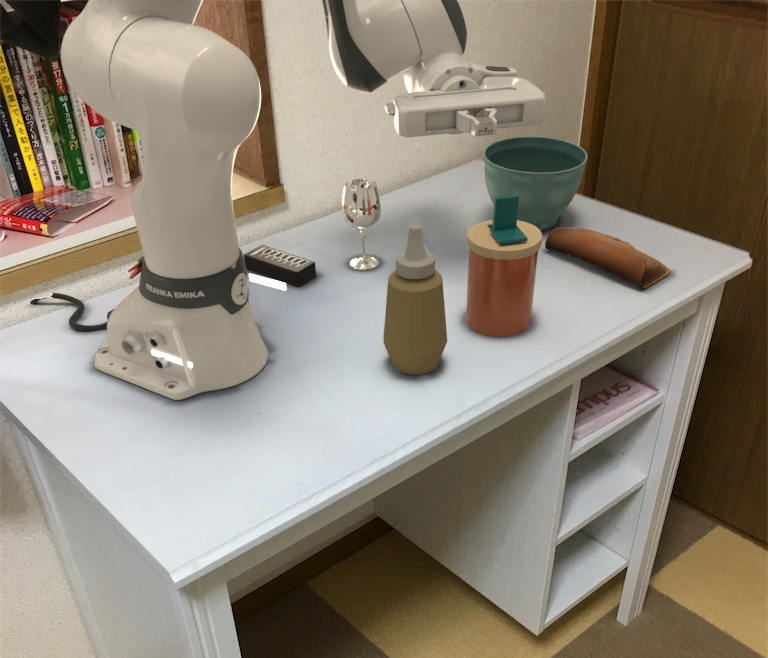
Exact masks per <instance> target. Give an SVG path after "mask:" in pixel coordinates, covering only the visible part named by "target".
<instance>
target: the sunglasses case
mask: <svg viewBox="0 0 768 658" xmlns="http://www.w3.org/2000/svg"><path fill="white" fill-rule="evenodd" d="M544 247H545V249H546V250H548V251H553V252H555V253H559V254H562V255H564V256H569V257H571V258H576V259H580V260H581V261H584V262H586V263H588V264H590V265H593V266H595V267H598V268H602V269H604V270H605V271H607V272H609V273H612V274H615V275H618V276H620V277H622V278H624V279H627V280H629V281H632V282H633V283H635V284H638V285H640V286H641V287H642V288H643V289H645V290H646V289H647V288H650V287H652V286H654V285H656V284H657V283H658V282H660V281H662V280H663V279H665V278H666V277H668V276H669V275H670V273H671V270H670V269H669V268H668V267H667V266H666V265H665V264H664V263H662V262H661V261H659V260H658V259H656V258H655V257H653V256H651V255H649V254H647V253H645V252H642V251H641V250H639V249H636V248H635V247H634V246H633V245H632V244H631V243H630V242H628V241H625V240H622V239H620V238H619V237H615V236H612V235H610V234H607V233H606V234H604V233H603V232H599V231H595V230H593V229H588V228H581V227H572V226H571V227H566V226H565V227H555V228H554V229H552V230H551V231H550V232H549V233H548V235H547V236H546V239H545V243H544Z"/></svg>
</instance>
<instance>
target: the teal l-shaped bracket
mask: <svg viewBox="0 0 768 658" xmlns="http://www.w3.org/2000/svg"><path fill="white" fill-rule="evenodd" d="M518 203H519V196H518V195H517V194H513V195H505V196H497V197H494V204H493V211H492V212H493V213H492V220H493V223H492V228H490V232H491V234H492V235H493V236H494V237H495V239H496V240H497V241H498V243H499V244H507V243H515V242H523V241H527V239H528V238H527V237H526V236H525V234H524V233H523V232H522V231H521V230H520V228H519V227H518V226H517V215H518Z"/></svg>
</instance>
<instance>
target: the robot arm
mask: <svg viewBox="0 0 768 658" xmlns="http://www.w3.org/2000/svg"><path fill="white" fill-rule="evenodd" d="M321 2H322V7H323V11H324V17H325V23H326V24H325V25H326V33H327V40H328V50H329V51H328V52H329V56H330V60H331V64H332V66H333V69H334V71H335V73H336V75H337V76H338V78H339V80H340V81H341V82H342V83H343V85H344V86H345V87H346V88H347V89H349V90H352V91H356V92H359V93H363V94H372V93H374V92H375V91H376V90H377V89H379V88H380V87H382V86H383V85H385V84H386V83H388V82H389V81H390V80H391V79H393V78H394V77H397V76H399V75H400V74H402V79H403V82H404V85H405V88H406V90H407V92H403V93H399V94H397V95H396V96H395V97H394V98H393V101H392V102H388V103H387V102H386V103H385V105H384V110H385V112H386V113H387V115H389V116H391V117H393V124H394V128H395V130H396V133H397V134H398V136H400V137H404V138H416V137H426V136H437V135H461V134H465V133H467V134H471V135H472V136H473V137H482V136H492V135H497V130H499V129H509V128H510V129H511V128H518V127H529V126H538V125H541V124H542V123H543V122H544V119H545V115H546V105H547V99H546V97H547V96H546V94H545V93H544V92H543V90H541V89H540V87H538V85H535V84H534V83H533V82H531V81H530V80H528V79H526V78H523V77H519V71H518V70H517V69H516V68H514V67H507V66H493V65H491V66H490V65H484V64H479V63H476V62H472V61H467V60H465V59H464V58H463V54H465V51H466V47H467V41H468V40H467V39H468V31H467V25H466V21H465V17H464V13H463V10H462V9H461V5H460V3H459V2H458V0H371V1H369V2H367V3H366V4H364V5H362V6H359V7H358V4H357V0H321ZM203 3H204V0H88V1H87V3H86V5H85V7H84V8H83V9H82V11H81V13H80V14H78V15H77V17H76V18H74V20H72V21H71V23H69V25H68V27H67V29H66V31H65V32H64V35H63V38H62V40H61V41H62V42H61V48H60V60H61V67H62V71H63V75H64V77H65V79H66V81H67V84H68V86H69V87H70V89H71V90H72V91H73V92H74V94H75V95H76V96H77V97H78V98H79V99H81V100H82V101H83V102H84V103H85V105H87V106H88V107H90V108H91V109H92V110H93V111H94V112H96V113H97V114H98V115H100V116H101V117H102V118H104V119H105V120H108V121H109V122H113V123H115V124H117V125H121V126H124V127H126V128H128V129H131V130H134V131H135V132H136V134H137V136H138V137H139V140H140V143H141V147H142V177H141V180H140V181H138V183H137V184H136V185H135V187H134V189H133V191H132V194H131V200H130V202H131V205H130V206H131V209H132V213H133V218H134V221H135V226H136V230H137V234H138V238H139V242H140V247H141V251H142V254H143V256H141V257H140V258H139V259H138V260H137V261H138V262H137V263H136V264H134V265H133V266H132V267H130V268H129V269H128V270H127V273H131V274H130V275H129V277H128V278H129V279H130V280H132V279H134V278H135V277H136V276H138V275H139V274H140V276H139V283H138V286H137V287H136V288H134V290H132V291H131V292H130V293H129V294H128V295H127V296H126V297H125V298H124V299H122V300H121V301H120V302H119V304H118V305H116V307H114V308H113V309H111V310H109V311H108V312H107V315H106V319H107V321H106V322H104V323H101V324H95V325H86V324H80V323H77V322H76V320H77V319H78V318H79V317H80V316H81V314H82V313H83V312H84V310H85V305H84V302H83V301H82V300H80V299H79V298H76V297H74V296H71V295H68V294H64V293H59V292H52V293H53V295H52V296H51V297H53V298H52V299H56V300H63V301H66V302H70V303H72V304H74V305H76V306H77V308H76V310H75V311H74V312H73V313H72V314H71V315H70V317H69V319H68V325H69V326H70V327H71V328H72V329H75V330H77V331H82V332H96V331H102V330H103V331H104V330H106V335H107V337H106V340H105V341H104V342H103V343H102V344H101V345H100V347H99V348H98V350H97V352H96V354H95V356H94V367H95V369H96V370H98V371H100V372H102V373H105V374H108V375H109V376H113V377H115V378H117V379H120V380H123V381H126V382H128V383H131V384H133V385H136V386H138V387H141V388H143V389H146V390H148V391H150V392H153V393H156V394H158V395H161V396H163V397H166V398H167V399H171V400H174V401H180V400H185V399H187V398H191V397H194V396H196V395H198V394H202V393H206V392H212V391H219V390H223V389H227V388H231V387H234V386H238V385H240V384H242V383H244V382H246V381H248V380H250V379H252V378H254V377H255V376H256V375H257V374H258V373H260V372H261V371H262V370H263V368H264V367H265V366H266V365H267V363H268V359H269V349H268V348H267V346H266V344H265V342H264V340H263V338H262V335H261V332H260V330H259V328H258V325H257V323H256V319H255V317H254V312H253V310H252V306H251V302H250V289H249V282H251V283H256V284H259V285H263V286H267V287H271V288H274V289H277V290H281V291H287V283H284V282H281V281H278V280H275V279H272V278H269V277H266V276H262V275H259V274H258V275H257V274H253V273H248V272H247V271H248V270H246V265H245V260H244V251H243V249H242V248H241V247H240V246H239V245H240V244H239V239H238V232H237V225H236V216H235V209H234V202H233V201H234V200H233V173H234V167H235V166H234V165H235V159H236V156H237V152H238V149H239V147H240V146H241V145H242V144H243V143H244V142H245V141H246V140H247V139H248V137H249V136H250V135H251V133H252V132H253V130H254V128H255V126H256V124H257V121H258V119H259V115H260V110H261V104H262V91H261V89H262V88H261V83H260V78H259V75H258V72H257V70H256V66H255V65H254V64H253V62H252V60H251V58H250V57H249V56H248V55H247V54H246V53H245V52H244V51H243V50H242V49H240V48H239V47H238V46H236V45H234V44H233V43H231V42H230V41H228V40H227V39H226V38H224V37H222V36H220V35H219V34H217V33H216V32H214V31H212V30H210V29H209V28H206V27H204V26H199V25H194V23H195V21H196V18H197V15H198V13H199V11H200V9H201V7H202V4H203ZM31 300H32V299H31ZM31 300H30V302H29V304H30V305H36V304H37V303H38V302H40V301H41V300H47V298H43V299H34V300H32V301H31Z"/></svg>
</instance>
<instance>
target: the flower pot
mask: <svg viewBox="0 0 768 658" xmlns="http://www.w3.org/2000/svg"><path fill="white" fill-rule="evenodd" d="M482 153H483V162H484V180H485V181H484V182H485V186H486V191H487V194H488V196H489V198H490V201H491V203H492V204H493V205H494V197H497V196H505V195H513V194H517V195H518V196H519V203H518V215H517V220H519V221H523V222H527V223H530V224H532V225H534V226H536V227H537V228H538V229H539V230H540V231H545V230H548V229H550V228H553V227H554V226H555V225H556V224H557V222H558V220H559V217H560V216H561V214H563V212H565V210H566V209H567V208H568V206H570V204H571V202H572V201H573V200H574V197H575V196H576V194H577V192H578V190H579V188H580V185H581V182H582V179H583V176H584V170H585V167H586V165H587V161H588V153H587V151H586V150H585V149H584V148H582V146H580V145H578V144H577V143H574V142H571V141H568V140H565V139H561V138H557V137H548V136H540V135H539V136H538V135H537V136H536V135H531V136H530V135H527V136H526V135H525V136H513V137H506V138H502V139H499V140H495V141H493V142H491V143H489V144H488V145H487V146H486V147H485V148H484V149H483V152H482Z"/></svg>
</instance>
